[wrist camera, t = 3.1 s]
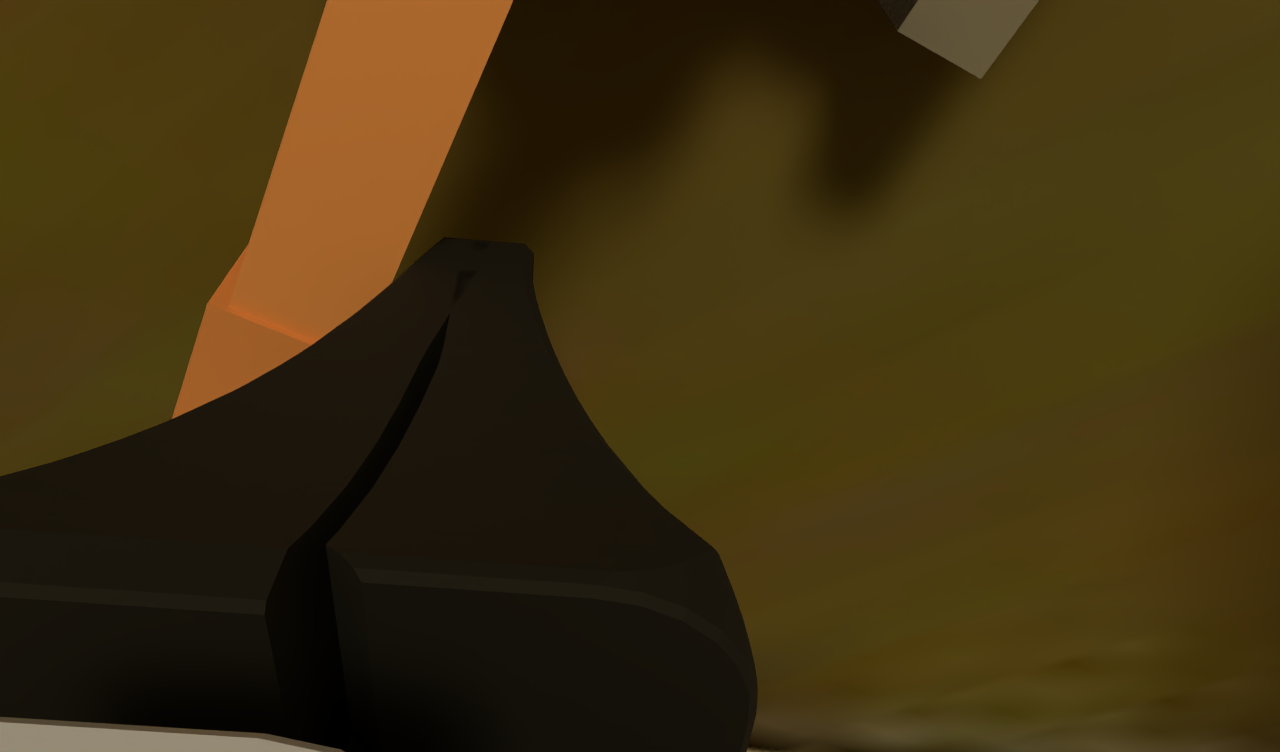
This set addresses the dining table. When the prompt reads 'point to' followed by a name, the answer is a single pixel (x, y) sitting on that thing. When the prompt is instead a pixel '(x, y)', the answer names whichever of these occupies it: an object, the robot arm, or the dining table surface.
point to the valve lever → (344, 181)
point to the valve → (960, 27)
